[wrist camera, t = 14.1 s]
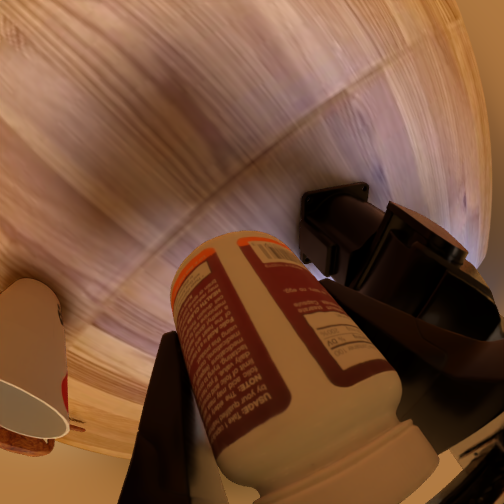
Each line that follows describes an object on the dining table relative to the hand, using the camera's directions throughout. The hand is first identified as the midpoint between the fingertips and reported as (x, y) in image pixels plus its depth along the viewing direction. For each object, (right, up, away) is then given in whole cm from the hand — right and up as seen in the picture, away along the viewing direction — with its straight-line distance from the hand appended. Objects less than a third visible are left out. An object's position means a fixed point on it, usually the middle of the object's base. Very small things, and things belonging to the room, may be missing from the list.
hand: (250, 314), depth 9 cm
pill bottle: (-1, +1, +1) cm, 2 cm away
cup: (-17, -2, +8) cm, 19 cm away
